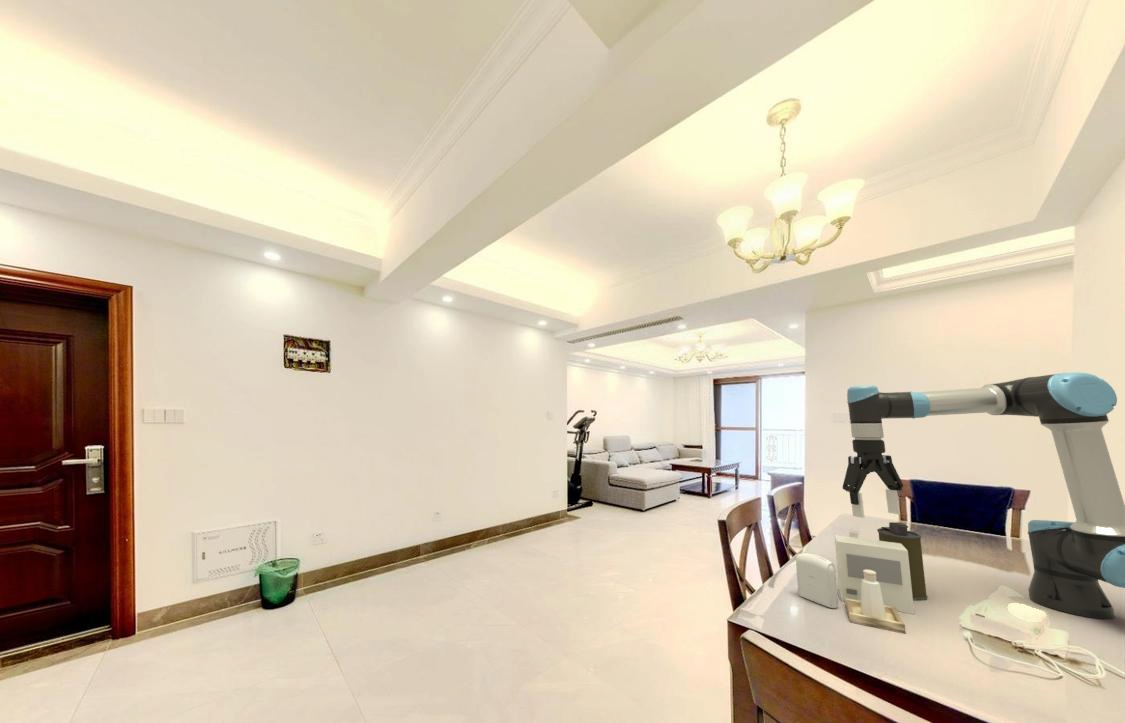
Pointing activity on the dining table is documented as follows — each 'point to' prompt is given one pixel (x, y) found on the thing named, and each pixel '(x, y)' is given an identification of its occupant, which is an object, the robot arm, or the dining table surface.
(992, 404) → the robot arm
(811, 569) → the photo printer
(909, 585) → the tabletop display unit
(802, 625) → the dining table surface
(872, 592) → the pepper shaker
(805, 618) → the dining table surface
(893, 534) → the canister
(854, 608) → the tray
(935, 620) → the dining table surface
